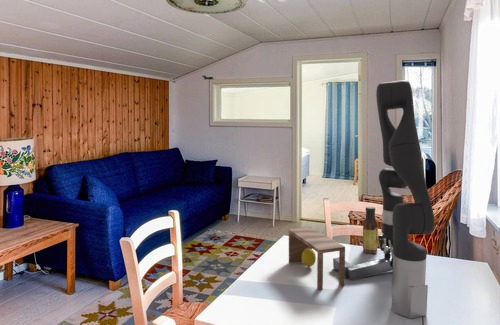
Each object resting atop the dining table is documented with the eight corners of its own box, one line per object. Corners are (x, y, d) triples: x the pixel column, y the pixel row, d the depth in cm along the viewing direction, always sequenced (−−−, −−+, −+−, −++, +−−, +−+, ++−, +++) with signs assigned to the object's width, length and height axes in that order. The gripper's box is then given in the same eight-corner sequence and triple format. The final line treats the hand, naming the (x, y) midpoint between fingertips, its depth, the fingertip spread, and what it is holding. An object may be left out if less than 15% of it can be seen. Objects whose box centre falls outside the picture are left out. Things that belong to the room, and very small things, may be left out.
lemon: (315, 264, 150) (315, 245, 150) (316, 270, 145) (316, 250, 144) (301, 264, 151) (301, 245, 150) (301, 270, 146) (301, 250, 145)
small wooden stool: (344, 285, 131) (345, 246, 130) (319, 289, 128) (319, 250, 127) (310, 259, 156) (310, 226, 154) (288, 262, 153) (288, 229, 151)
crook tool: (416, 264, 144) (415, 255, 144) (350, 280, 135) (350, 270, 135) (395, 254, 156) (394, 244, 155) (333, 268, 147) (333, 258, 146)
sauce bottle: (379, 254, 161) (380, 209, 159) (364, 254, 162) (365, 209, 159) (374, 249, 168) (375, 205, 166) (360, 249, 168) (361, 205, 166)
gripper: (372, 217, 146) (370, 259, 148) (396, 227, 132) (395, 274, 135) (388, 215, 148) (386, 257, 150) (414, 225, 135) (412, 271, 137)
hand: (390, 265), depth 142 cm, fingers closed on crook tool, 3 cm apart
